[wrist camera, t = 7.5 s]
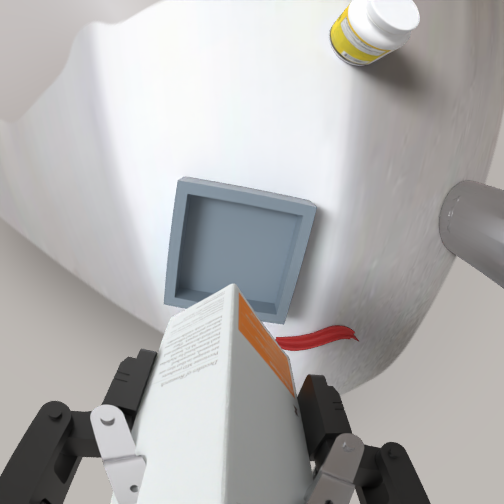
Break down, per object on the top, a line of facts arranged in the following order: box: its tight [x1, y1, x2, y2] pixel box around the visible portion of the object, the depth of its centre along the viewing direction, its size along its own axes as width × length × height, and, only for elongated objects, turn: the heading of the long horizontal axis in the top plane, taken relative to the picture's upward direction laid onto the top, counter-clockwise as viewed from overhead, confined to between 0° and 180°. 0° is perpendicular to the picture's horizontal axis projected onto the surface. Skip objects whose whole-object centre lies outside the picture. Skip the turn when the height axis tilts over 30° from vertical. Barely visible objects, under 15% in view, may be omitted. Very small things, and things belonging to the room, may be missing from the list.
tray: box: [164, 177, 317, 324], centre depth 28 cm, size 12×12×3 cm
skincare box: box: [110, 284, 313, 504], centre depth 10 cm, size 6×4×12 cm
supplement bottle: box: [329, 0, 420, 66], centre depth 18 cm, size 5×5×10 cm
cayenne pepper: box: [276, 325, 359, 351], centre depth 33 cm, size 12×5×2 cm, turn 76°
